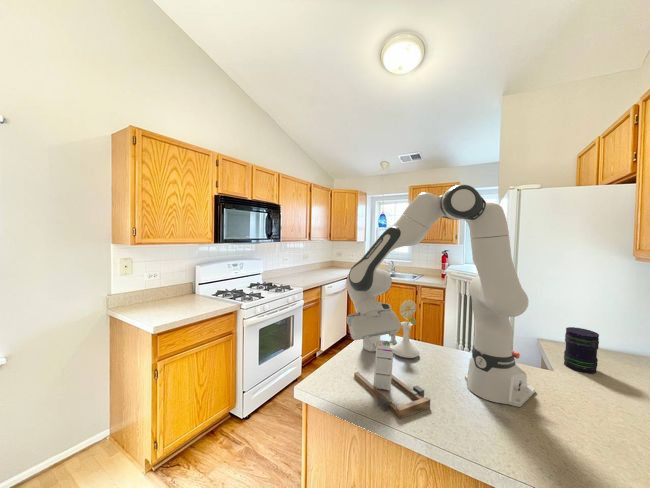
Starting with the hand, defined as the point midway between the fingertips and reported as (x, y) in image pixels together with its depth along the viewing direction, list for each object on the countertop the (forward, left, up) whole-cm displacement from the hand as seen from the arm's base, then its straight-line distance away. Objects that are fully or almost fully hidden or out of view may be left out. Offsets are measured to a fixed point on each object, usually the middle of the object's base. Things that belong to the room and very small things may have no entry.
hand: (384, 347), depth 94 cm
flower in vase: (-24, -15, -14) cm, 31 cm away
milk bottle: (-14, -27, -14) cm, 33 cm away
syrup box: (+1, 0, -13) cm, 13 cm away
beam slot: (0, +2, -14) cm, 14 cm away
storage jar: (-81, +22, -14) cm, 85 cm away
